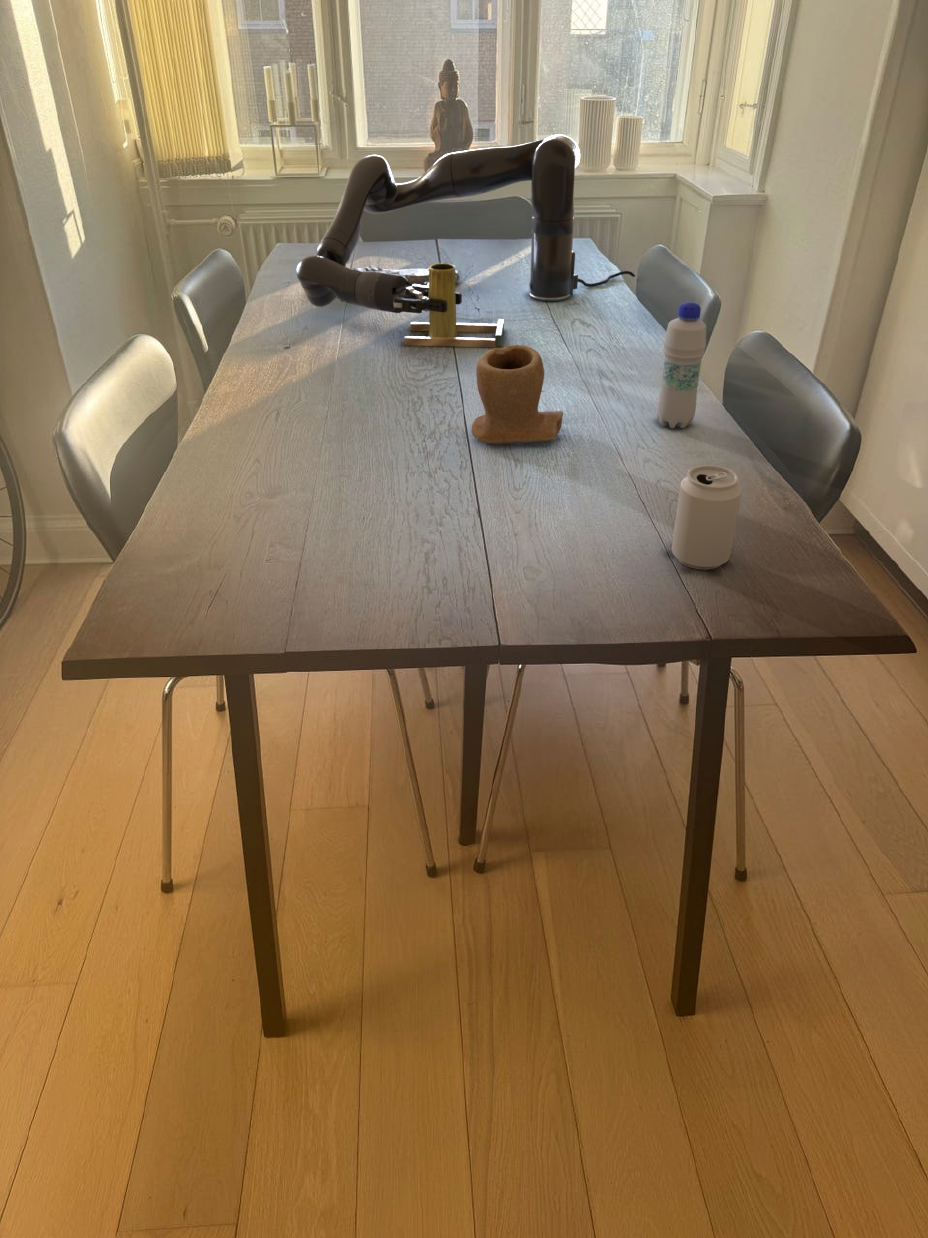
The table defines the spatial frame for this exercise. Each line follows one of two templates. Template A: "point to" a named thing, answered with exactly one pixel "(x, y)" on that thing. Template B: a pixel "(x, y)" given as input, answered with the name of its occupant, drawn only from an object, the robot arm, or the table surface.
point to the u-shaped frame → (456, 340)
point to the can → (706, 516)
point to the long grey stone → (409, 274)
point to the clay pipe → (513, 398)
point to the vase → (442, 290)
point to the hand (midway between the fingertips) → (453, 302)
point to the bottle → (681, 367)
